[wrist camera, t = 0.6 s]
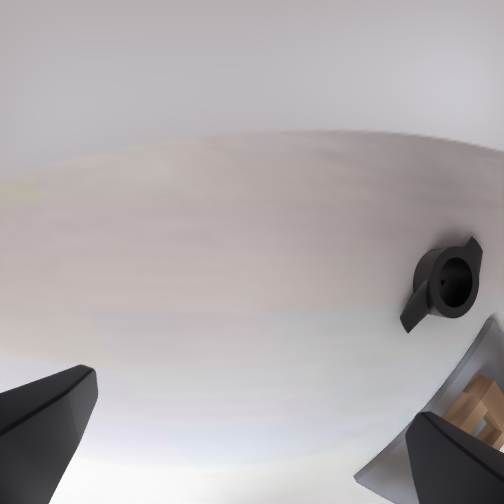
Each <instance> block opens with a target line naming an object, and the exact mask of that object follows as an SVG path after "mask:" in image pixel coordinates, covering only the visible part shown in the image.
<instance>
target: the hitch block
mask: <svg viewBox="0 0 504 504" xmlns="http://www.w3.org/2000/svg"><path fill="white" fill-rule="evenodd" d="M422 411H431V412H433V413H435V414H436V415H438V416H440V417H441V418H443V419H445V420H446V421H448V422H450V423H452V424H453V425H455V426H457V427H458V428H460V429H462V430H463V431H465V432H467V433H469V434H470V435H472V436H474V437H476V438H477V439H479V440H481V441H483V442H484V443H486V444H488V445H490V446H491V447H493V448H495V449H497V450H500V448H501V447H502V446H503V444H504V337H503V335H502V333H501V331H500V330H499V328H498V326H497V325H496V323H495V321H494V320H489V319H488V320H487V321H486V323H485V325H484V326H483V328H482V330H481V331H480V333H479V334H478V336H477V338H476V339H475V341H474V342H473V344H472V345H471V347H470V348H469V350H468V351H467V353H466V354H465V356H464V357H463V359H462V360H461V361H460V363H459V364H458V366H457V367H456V368H455V370H454V371H453V372H452V374H451V375H450V376H449V378H448V379H447V380H446V382H445V383H444V384H443V385H442V387H441V388H440V389H439V390H438V392H437V393H436V394H435V395H434V397H433V398H432V399H431V400H430V401H429V403H428V404H427V405H426V406H425V407H424V408H423V410H422ZM422 411H421V412H422ZM411 423H412V422H411ZM411 423H410V424H411ZM410 424H409V425H408V426H407V427H406V428H405V429H404V430H403V431H402V432H401V433H400V434H399V435H398V436H397V437H396V438H395V439H394V440H393V441H392V442H391V443H390V444H389V445H388V446H387V447H386V448H385V449H384V450H383V451H382V452H381V453H380V454H379V455H377V456H376V457H375V458H374V459H373V460H372V461H371V462H370V463H369V464H367V465H366V466H365V467H364V468H363V469H362V470H360V471H359V472H358V473H357V474H356V475H354V476H353V477H354V479H355V480H356V482H357V483H359V484H361V485H362V486H364V487H366V488H368V489H369V490H371V491H373V492H374V493H376V494H378V495H380V496H382V497H383V498H385V499H387V500H389V501H391V502H393V503H395V504H419V501H418V498H417V494H416V490H415V486H414V483H413V479H412V474H411V468H410V462H409V457H408V451H407V446H406V441H405V433H406V431H407V429H408V427H409V426H410Z"/></svg>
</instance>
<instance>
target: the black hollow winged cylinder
mask: <svg viewBox="0 0 504 504" xmlns="http://www.w3.org/2000/svg"><path fill="white" fill-rule="evenodd" d="M482 253H483V251H482V249H481V247H480V245H479V244H478V242H477V241H476V240H475V239H474V238H473V237H471V238H470V240H469V242H468V243H467V244H466V246H465V247H464V248H461V247H457V246H454V247H447V248H441V249H435V250H431V251H429V252H428V253H426V254H425V255H424V256H423V257H422V258H421V259H420V261H419V263H418V264H417V267H416V269H415V273H414V278H413V289H414V295H413V296H412V298H411V299H410V301H409V302H408V304H407V306H406V307H405V309H404V311H403V313H402V314H401V316H400V320H401V323H402V325H403V327H404V329H405V330H406V332H407V333H409V332H410V331H411V330H412V329H413V328H414V327H415V326H416V325H417V324H418V323H419V322H420V321H421V320H422V319H423V318H424V317H425V316H426V315H427V314H431V315H436V316H441V317H446V318H458V317H461V316H463V315H464V314H465V313H467V312H468V311H469V309H470V308H471V307H472V305H473V304H474V302H475V299H476V297H477V293H478V288H479V272H480V266H481V260H482Z"/></svg>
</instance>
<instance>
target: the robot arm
mask: <svg viewBox="0 0 504 504" xmlns="http://www.w3.org/2000/svg"><path fill="white" fill-rule="evenodd" d="M97 398H98V386H97V377H96V371H95V370H94V369H93V368H91V367H88V366H85V365H77V366H75V367H72V368H69V369H67V370H64V371H61V372H59V373H56V374H53V375H51V376H48V377H45V378H42V379H40V380H37V381H34V382H31V383H28V384H25V385H23V386H20V387H17V388H14V389H11V390H8V391H5V392H2V393H0V504H49V502H50V500H51V498H52V496H53V494H54V492H55V490H56V488H57V486H58V484H59V482H60V480H61V478H62V476H63V474H64V472H65V470H66V468H67V466H68V464H69V462H70V461H71V459H72V457H73V455H74V453H75V451H76V449H77V447H78V445H79V443H80V441H81V439H82V436H83V434H84V431H85V429H86V426H87V423H88V421H89V418H90V416H91V413H92V411H93V408H94V406H95V404H96V401H97ZM405 441H406V446H407V451H408V457H409V462H410V468H411V474H412V479H413V483H414V486H415V490H416V494H417V498H418V501H419V504H504V453H502V452H500V451H499V450H497V449H495V448H493V447H491V446H490V445H488V444H486V443H484V442H483V441H481V440H479V439H477V438H476V437H474V436H472V435H470V434H469V433H467V432H465V431H463V430H462V429H460V428H458V427H457V426H455V425H453V424H452V423H450V422H448V421H446V420H445V419H443V418H441V417H440V416H438V415H436V414H435V413H433V412H431V411H422V412H419V413H418V414H417V415H416V416H415V418H414V419H413V421H412V423H411V424H410V426H409V427H408V429H407V431H406V433H405Z"/></svg>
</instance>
